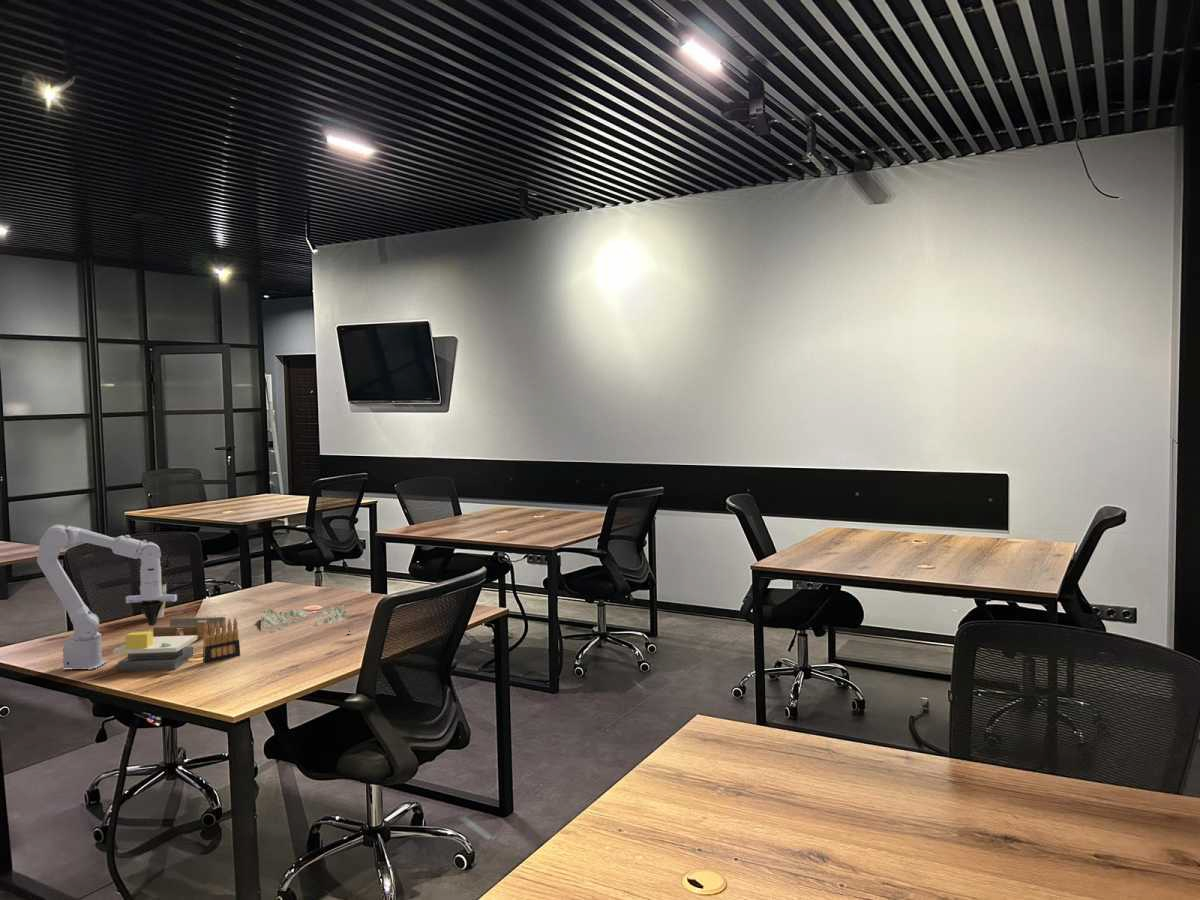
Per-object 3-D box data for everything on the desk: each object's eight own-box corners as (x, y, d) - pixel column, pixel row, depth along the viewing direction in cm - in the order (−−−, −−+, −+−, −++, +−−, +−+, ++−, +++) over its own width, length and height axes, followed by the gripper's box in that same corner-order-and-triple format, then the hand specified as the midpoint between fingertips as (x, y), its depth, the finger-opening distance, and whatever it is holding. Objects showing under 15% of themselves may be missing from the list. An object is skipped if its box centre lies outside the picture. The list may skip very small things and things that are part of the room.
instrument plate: (112, 654, 243) (112, 636, 243) (137, 641, 259) (137, 624, 259) (176, 651, 245) (176, 634, 245) (197, 639, 261) (197, 622, 261)
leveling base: (118, 671, 244) (118, 655, 244) (140, 658, 258) (139, 642, 258) (175, 669, 246) (174, 653, 246) (193, 656, 260) (192, 640, 260)
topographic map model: (351, 636, 284) (350, 622, 284) (258, 646, 274) (258, 631, 273) (344, 613, 317) (343, 600, 317) (261, 621, 307) (261, 607, 307)
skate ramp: (245, 624, 302) (244, 604, 301) (204, 651, 267) (203, 628, 266) (163, 626, 300) (162, 606, 300) (111, 654, 265) (110, 631, 265)
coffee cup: (174, 615, 314) (173, 576, 314) (158, 621, 304) (156, 581, 304) (150, 615, 315) (149, 576, 315) (133, 621, 306) (131, 581, 305)
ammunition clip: (205, 663, 252) (204, 624, 252) (202, 662, 254) (201, 623, 253) (240, 655, 260) (239, 618, 260) (238, 654, 261) (236, 617, 261)
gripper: (180, 578, 262) (181, 620, 263) (132, 579, 261) (133, 622, 261) (171, 583, 255) (172, 626, 256) (121, 584, 254) (123, 628, 254)
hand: (152, 624), depth 258 cm, fingers closed
